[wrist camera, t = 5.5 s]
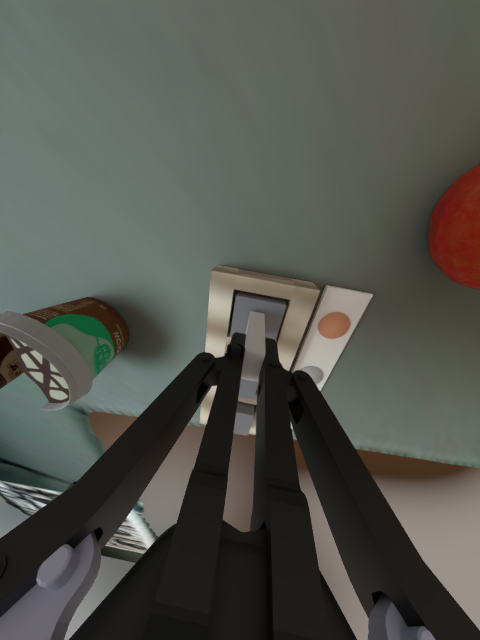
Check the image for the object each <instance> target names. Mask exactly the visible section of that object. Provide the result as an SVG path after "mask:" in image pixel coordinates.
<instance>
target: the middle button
mask: <svg viewBox="0 0 480 640" xmlns="http://www.w3.org/2000/svg"><path fill="white" fill-rule="evenodd" d="M258 383H259V379H258V382H255V381H250V380H245V379H241V382H240V389H239V396H238V397H243V398H248V399H253V400H257V395H256V390H257V387H258Z"/></svg>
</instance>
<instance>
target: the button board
mask: <svg viewBox="0 0 480 640" xmlns="http://www.w3.org/2000/svg"><path fill="white" fill-rule="evenodd" d="M236 290H240V291H246V292H251V293H256V294H262V295H267V296H272V297H277V298H283V299H285V302H286V309H285V312H284V315H283V318H282V322H281V325H280V328H279V331H278V335H277V338H276V342H277V348H278V355H279V362H280V363H281V364H282V366H283V368H284V369H286V370H288V371H289V370H290V367H291V364H292V362H293V359H294V357H295V354H296V352H297V349H298V347H299V344H300V341H301V339H302V336H303V334H304V331H305V329H306V326H307V324H308V321H309V318H310V316H311V313H312V311H313V308H314V306H315V303H316V301H317V298H318V295H319V293H320V290H319V289H318V288H317V287H316V285H315V284H314V283H313V282H308V281H302V280H297V279H291V278H286V277H280V276H275V275H270V274H264V273H259V272H253V271H248V270H242V269H237V268H232V267H226V266H221V265H217V266H216V267H215V268H214V269H212V270H211V281H210V294H209V307H208V320H207V334H206V347H205V352H208V353H211V354H213V355H214V357H222V356H225V355H226V351H227V346H228V344H230V341H231V338H230V332H231V321H232V314H233V307H234V301H235V294H236ZM216 388H217V386H212V387H211V389H210V390H209V392H208V393H207V395H206V396H205V398H204V400H203V401H202V403H201V414H200V423H202V424H207V420H208V417H209V413H210V410H211V406H212V403H213V399H214V395H215V392H216ZM238 401H240V402H244V403H249V404H254V405H255V406H254V417H253V421H252V424H251V427H250V430H249V434H253V435H256V409H257V400H253V399H248V398H243V397H238Z"/></svg>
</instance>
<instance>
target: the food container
mask: <svg viewBox="0 0 480 640" xmlns="http://www.w3.org/2000/svg"><path fill="white" fill-rule="evenodd" d="M0 332H2V333H4V335H5V336H6V337H7V338H8V340H9V341H10V343H11V345H12V346H13V348H14V350H15V353H16V355H17V358H18V361H19V363H20V366H21V368H22V370H23V371H24V373H25V374H26V375H27V376H28V377H29V378H31V379H32V380H33V381H34V382H35V383H36V384H37V385H38V386H39V387H40V388H41V390H42V391H43V393H44V394H45V396H46V397H47V399H48V400H49V402H48V403H47V404H46V405H45V406H44V407H43V408H42V409H41V410H59V409H62V408H64V407H65V406H68V405H70V404H72V403H73V402H75V401H76V400H78V399H80V398H81V397H83V396H84V395H86V394H87V393H88V392H89V391H90V389H91V387H92V380H93V379H94V378H95V377H96V376H97V375H98V374H99V373H100V372H101V371H102V370H103V369H104V368H105V367H106V366H107V365H108V363H109V362H110V361H111V360H112V359H113V358H114V357H115V356H116V355H117V354H118V353H119V352H120V351H121V350H122V349H123V348H124V347H125V346H126V344H127V342H128V341H129V330H128V327H127V325H126V323H125V321H124V320H123V318H122V317H121V316H120V315H119V313H118V312H117V311H115V310H114V309H113V308H112V307H110V306H109V305H107V304H106V303H104V302H102V301H100V300H97V299H94V298H90V297H86V298H82V299H78V300H75V301H71V302H67V303H63V304H60V305H56V306H52V307H48V308H44V309H41V310H37V311H33V312H29V313H26V314H19V313H15V312H10V311H7V312H5V313H3V314H1V315H0Z"/></svg>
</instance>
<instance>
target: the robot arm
mask: <svg viewBox="0 0 480 640" xmlns="http://www.w3.org/2000/svg"><path fill="white" fill-rule="evenodd" d="M241 379H245V380H250V381H255V382H258V379H259V383H258V387H257V390H256V395H257V409H256V440H255V467H254V494H253V510H252V516H251V524H250V532H240V531H239V530H237V529H236V528H234V527H232V526H231V525H230V524H228V523H227V522H225V521H224V520H222V519H223V512H224V505H225V497H226V490H227V481H228V468H229V461H230V454H231V446H232V439H233V432H234V425H235V418H236V411H237V403H238V396H239V389H240V382H241ZM212 386H217V388H216V392H215V395H214V399H213V403H212V406H211V410H210V413H209V417H208V420H207V424H206V427H205V431H204V435H203V438H202V442H201V445H200V449H199V453H198V456H197V459H196V463H195V466H194V469H193V470H192V473H191V475H190V479H189V482H188V485H187V489H186V493H185V496H184V499H183V503H182V506H181V510H180V513H179V517H178V520H177V523H176V524H174V525H173V526H171V527H170V528H169V529H167V530H166V531H165V532H164V533H163V534H162V535H161V536H159V538H158V539H157V540H156V541H155V542H154V543H153V544H152V545H151V546H150V548H149V549H148V550H147V551H146V552H145V553H144V554H143V556H142V557H141V558H140V559H139V560H138V561H137V562H136V564H135V565H134V566H133V567H132V568H131V569H130V571H129V572H128V573H127V574H126V575H125V576H124V577H123V578H122V580H121V581H120V582H119V583H118V584H117V585H116V586H115V588H114V589H113V590H112V591H111V592H110V593H109V594H108V596H107V597H106V598H105V599H104V600H103V601H102V602H101V604H100V605H99V606H98V607H97V608H96V609H95V610H94V612H93V613H92V614H91V615H90V616H89V617H88V618H87V620H86V621H85V622H84V623H83V624H82V625H81V626H80V628H79V629H78V630H77V631H76V632H75V633H74V634H73V635H72V637H71V638H70V639H69V640H357V639H356V637H355V635H354V633H353V631H352V629H351V628H350V626H349V624H348V622H347V620H346V618H345V616H344V615H343V613H342V611H341V609H340V607H339V606H338V603H337V601H336V600H335V598H334V596H333V594H332V592H331V590H330V588H329V586H328V585H327V583H326V581H325V579H324V577H323V576H322V574H321V572H320V570H319V567H318V560H317V554H316V548H315V542H314V536H313V530H312V525H311V518H310V512H309V507H308V502H307V499H306V496H305V495H304V493H303V492H302V491H301V489H300V485H299V479H298V471H297V464H296V457H295V451H294V443H293V436H292V429H291V424H292V427H293V430H294V433H295V435H296V438H297V441H298V443H299V446H300V449H301V451H302V454H303V456H304V459H305V462H306V464H307V468H308V470H309V473H310V476H311V478H312V481H313V484H314V486H315V489H316V491H317V494H318V497H319V500H320V502H321V505H322V508H323V511H324V513H325V516H326V519H327V521H328V524H329V527H330V529H331V532H332V535H333V537H334V540H335V543H336V545H337V548H338V551H339V554H340V556H341V559H342V561H343V564H344V566H345V569H346V571H347V574H348V576H349V578H350V581H351V583H352V585H353V587H354V589H355V592H356V594H357V596H358V598H359V600H360V602H361V605H362V607H363V608H364V610H365V612H366V614H367V616H368V618H369V624H368V625H369V626H368V627H369V634H368V640H480V631H479V629H478V628H477V627H476V625H475V624H474V623H473V622H472V621H471V619H470V618H469V617H468V616H467V614H466V613H465V612H464V611H463V609H462V608H461V607H460V606H459V604H458V603H457V602H456V601H455V600H454V598H453V597H452V596H451V595H450V593H449V592H448V591H447V590H446V588H445V587H444V586H443V585H442V584H441V582H440V581H439V580H438V579H437V577H436V576H435V575H434V574H433V573H432V571H431V570H430V569H429V567H428V566H427V565H426V564H425V563H424V561H423V560H422V558H421V557H420V555H419V553H418V552H417V550H416V548H415V547H414V545H413V543H412V542H411V540H410V538H409V537H408V535H407V533H406V532H405V530H404V528H403V527H402V526H401V524H400V522H399V520H398V519H397V517H396V516H395V514H394V512H393V510H392V509H391V507H390V506H389V504H388V503H387V501H386V499H385V497H384V496H383V494H382V492H381V491H380V489H379V487H378V486H377V484H376V482H375V481H374V479H373V478H372V476H371V474H370V473H369V472H368V469H367V468H366V466H365V464H364V463H363V461H362V460H361V458H360V456H359V455H358V453H357V451H356V450H355V448H354V446H353V445H352V443H351V441H350V440H349V438H348V437H347V435H346V433H345V432H344V430H343V428H342V427H341V425H340V423H339V422H338V420H337V418H336V417H335V415H334V414H333V412H332V410H331V409H330V407H329V405H328V404H327V402H326V400H325V399H324V397H323V395H322V394H321V392H320V391H319V389H318V387H317V386H316V384H315V382H314V381H313V379H312V377H311V376H310V375H309V374H308V373H306V372H304V371H302V370H296V371H294V372H293V373H292V372H290V371H288V370H286V369H284V368H283V366H282V364H281V363H280V362H279V355H278V348H277V342H276V341H275V340H274V339H271V338H265V314H263V313H258V312H253V311H250V314H249V319H248V324H247V329H246V334H243V333H237V332H235V333H234V334H233V335H232V338H231V341H230V344H228V346H227V351H226V355H225V356H222V357H214V355H213V354H211V353H208V352H203V353H200V354H198V355H197V356H196V357H195V358H194V359H193V360H192V361H191V362H190V363H189V364H188V365H187V366H186V367H185V369H184V370H183V371H182V372H181V373H180V374H179V375H178V376H177V377H176V378H175V379H174V380H173V381H172V382H171V383H170V384H169V385H168V386H167V388H166V389H165V390H164V391H163V392H162V393H161V394H160V395H159V396H158V397H157V398H156V399H155V400H154V401H153V402H152V403H151V404H150V405H149V407H148V408H147V409H146V410H145V411H144V412H143V413H142V414H141V415H140V416H139V417H138V418H137V419H136V420H135V421H134V422H133V423H132V424H131V426H130V427H129V428H128V429H127V430H126V431H125V432H124V433H123V434H122V435H121V436H120V437H119V438H118V439H117V440H116V441H115V442H114V444H113V445H112V446H111V447H110V448H109V449H108V450H107V451H106V452H105V453H104V454H103V455H102V456H101V457H100V458H99V459H98V460H97V461H96V462H95V464H94V465H93V466H92V467H91V468H90V469H89V470H88V471H87V472H86V473H85V474H84V475H83V476H82V477H81V478H80V479H79V480H78V481H77V483H76V484H75V485H73V486H72V487H70V488H69V489H68V490H66V491H65V492H64V493H62V494H61V495H59V496H58V497H57V498H55V499H54V500H53V501H51V502H50V503H48V504H47V505H46V506H44V507H43V508H42V509H40V510H39V511H37V512H36V513H35V514H33V515H32V516H31V517H29V518H28V519H27V520H25V521H24V522H23V523H21V524H20V525H18V526H17V527H16V528H14V529H13V530H11V531H10V532H9V533H8V534H6V535H5V536H3V537H2V538H0V640H64V637H65V634H66V632H67V629H68V626H69V623H70V621H71V619H72V617H73V615H74V613H75V611H76V609H77V607H78V606H79V604H80V603H81V601H82V600H83V598H84V597H85V596H86V594H87V593H88V591H89V589H90V588H91V587H92V584H93V583H94V580H95V579H96V577H97V574H98V571H99V568H100V563H101V551H100V550H101V549H102V548H103V547H104V546H105V545H106V543H107V542H108V541H109V540H110V538H111V537H112V536H113V535H114V534H115V532H116V531H117V530H118V529H119V527H120V526H121V524H122V523H123V522H124V520H125V519H126V517H127V516H128V514H129V513H130V512H131V510H132V509H133V507H134V505H135V504H136V502H137V501H138V499H139V498H140V496H141V495H142V493H143V492H144V490H145V488H146V487H147V485H148V484H149V482H150V481H151V479H152V478H153V476H154V475H155V473H156V472H157V470H158V468H159V467H160V465H161V464H162V462H163V461H164V459H165V458H166V456H167V455H168V453H169V452H170V450H171V449H172V447H173V446H174V444H175V443H176V441H177V439H178V438H179V436H180V435H181V433H182V432H183V430H184V428H185V427H186V426H187V424H188V423H189V421H190V420H191V418H192V416H193V415H194V413H195V412H196V410H197V409H198V407H199V406H200V404H201V403H202V401H203V400H204V398H205V396H206V395H207V393H208V392H209V390H210V389H211V387H212Z"/></svg>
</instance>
